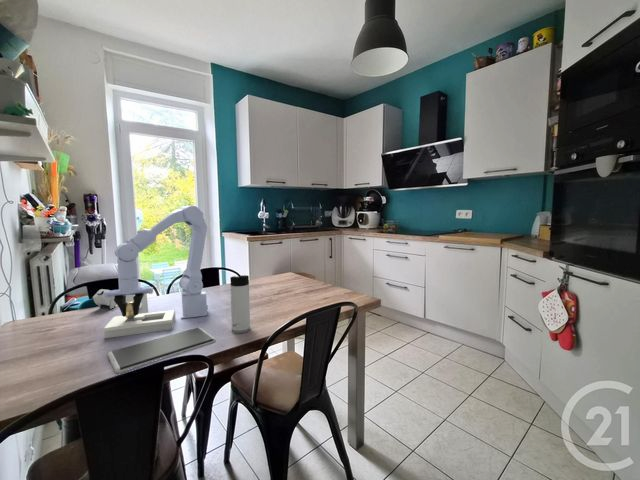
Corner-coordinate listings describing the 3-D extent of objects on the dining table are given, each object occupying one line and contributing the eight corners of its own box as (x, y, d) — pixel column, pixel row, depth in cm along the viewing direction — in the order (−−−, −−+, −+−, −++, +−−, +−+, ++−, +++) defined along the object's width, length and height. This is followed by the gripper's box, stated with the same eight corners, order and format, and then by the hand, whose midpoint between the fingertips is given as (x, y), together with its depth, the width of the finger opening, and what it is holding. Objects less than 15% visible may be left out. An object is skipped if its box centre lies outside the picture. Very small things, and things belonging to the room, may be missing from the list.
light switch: (121, 321, 105) (121, 294, 115) (123, 331, 108) (123, 304, 118) (148, 316, 110) (146, 290, 120) (149, 326, 113) (147, 301, 123)
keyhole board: (175, 318, 112) (175, 309, 112) (172, 329, 102) (171, 319, 102) (114, 325, 105) (114, 316, 105) (104, 338, 95) (104, 328, 95)
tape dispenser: (103, 311, 125) (87, 298, 118) (112, 298, 130) (98, 285, 123) (115, 312, 124) (100, 299, 117) (124, 299, 129) (110, 286, 122)
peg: (142, 326, 104) (141, 300, 104) (133, 331, 100) (131, 304, 99) (130, 325, 105) (128, 300, 104) (120, 331, 100) (118, 304, 99)
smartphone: (216, 343, 93) (216, 338, 93) (116, 376, 74) (115, 369, 74) (200, 331, 103) (200, 326, 102) (107, 357, 84) (107, 351, 84)
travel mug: (234, 335, 97) (232, 277, 95) (230, 328, 103) (228, 273, 101) (252, 331, 100) (250, 275, 98) (247, 325, 106) (246, 272, 104)
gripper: (153, 273, 107) (155, 308, 108) (107, 276, 102) (110, 313, 103) (150, 277, 100) (152, 315, 102) (100, 281, 95) (103, 320, 96)
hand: (130, 314), depth 102 cm, fingers closed on peg, 3 cm apart
